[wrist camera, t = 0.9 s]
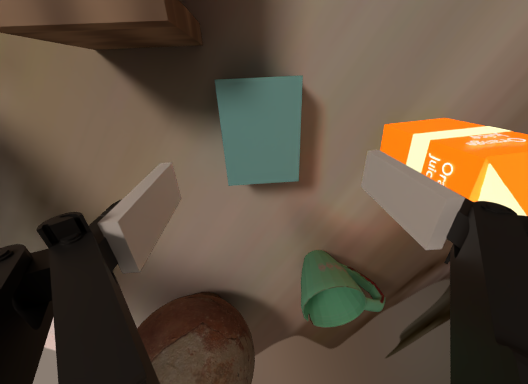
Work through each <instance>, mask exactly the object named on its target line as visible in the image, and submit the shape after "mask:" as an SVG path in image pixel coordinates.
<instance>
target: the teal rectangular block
mask: <svg viewBox="0 0 528 384" xmlns="http://www.w3.org/2000/svg"><path fill="white" fill-rule="evenodd" d="M302 79H303V76H281V77H260V78H238V79H217V80H215V86H216V94H217V101H218V109H219V117H220V124H221V132H222V139H223V147H224V154H225V162H226V169H227V177H228V184H229V186H232V185H247V184H262V183H278V182H293V181H299V158H300V132H301V105H302Z"/></svg>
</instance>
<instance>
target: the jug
mask: <svg viewBox="0 0 528 384" xmlns="http://www.w3.org/2000/svg"><path fill="white" fill-rule="evenodd" d="M137 330H138V332H139V334H140V337H141V339H142V342H143V344H144V346H145V349H146V351H147V354H148V356H149V358H150V361H151V363H152V366H153V368H154V370H155V373H156V375H157V377H158V380H159V382H160V384H251V382H252V378H253V372H254V362H255V360H254V359H255V357H254V346H253V341H252V336H251V333H250V330H249V328H248V325H247V323H246V322H245V320H244V318H243V317H242V315H241V314H240V313H239V312H238V310H237V309H235V308H234V307H233V306H232V305H231V304H230V303H228V302H226V301H224V300H223V299H222V298H221V297H220V296H218V295H216V294H215V293H210V292H201V293H198V294H194V295H189V296H185V297H181V298H178V299H175V300H173V301H171V302H169V303H167V304H165V305H164V306H162V307H160V308H159V309H158V310H156V311H155V312H153V313H152V314H151V315H150V316H149V317H148V318H147V319H146V320H145V321H144V322H142V324H141V325H140V326H139V327H138V328H137Z"/></svg>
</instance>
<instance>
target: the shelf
mask: <svg viewBox="0 0 528 384" xmlns="http://www.w3.org/2000/svg"><path fill="white" fill-rule="evenodd" d="M0 32H1V33H6V34H11V35H17V36H22V37H28V38H33V39H39V40H44V41H50V42H55V43H61V44H66V45H72V46H77V47H82V48H88V49H93V50H101V49H125V48H149V47H174V46H198V45H203V43H202V36H201V29H200V23H199V22H198V21H197V20H196V19H195V18H194V16H193V15H192V14H191V13H190V12H189V11H188V10H187V9H186V8H185V6H184V5H183V4H182V3H181V2H180V1H179V0H0Z"/></svg>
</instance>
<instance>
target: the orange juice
mask: <svg viewBox="0 0 528 384" xmlns="http://www.w3.org/2000/svg"><path fill="white" fill-rule="evenodd" d="M380 151H382V152H384V153H385V154H387V155H389V156H391V157H393V158H395V159H396V160H398V161H400V162H402V163H404V164H405V165H407V166H409V167H411V168H413V169H414V170H416V171H418V172H420V173H422V174H423V175H425V176H427V177H429V178H431V179H432V180H434V181H436V182H438V183H440V184H442V185H444V186H445V187H447V188H449V189H451V190H452V191H454V192H456V193H458V194H460V195H462V196H463V197H465V198H467V199H469V200H471V201H472V202H476V201H488V202H494V203H498V204H501V205H504V206H506V207H508V208H511V209H512V210H514V211H515V212H516V213H517V215H523V216H528V135H527V134H522V133H517V132H512V131H510V130H505V129H500V128H495V127H490V126H483V125H478V124H473V123H468V122H463V121H458V120H453V119H448V118H440V119H431V120H422V121H412V122H403V123H393V124H385V125H384V131H383V137H382V143H381V149H380Z"/></svg>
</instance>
